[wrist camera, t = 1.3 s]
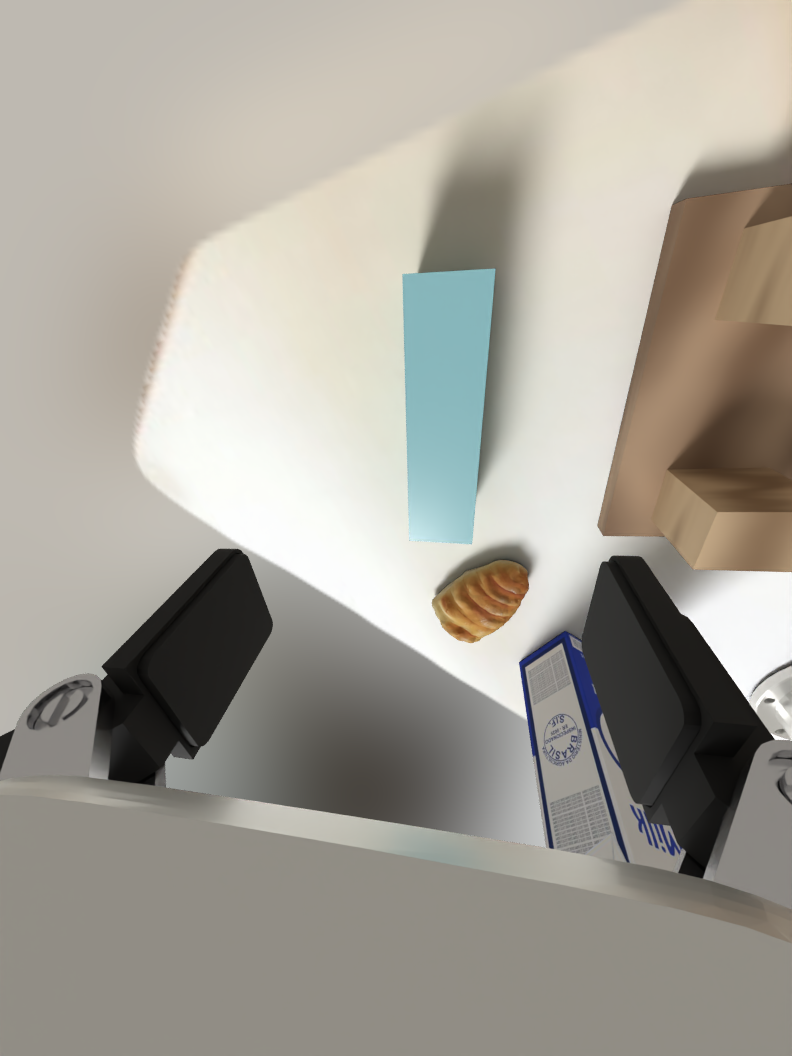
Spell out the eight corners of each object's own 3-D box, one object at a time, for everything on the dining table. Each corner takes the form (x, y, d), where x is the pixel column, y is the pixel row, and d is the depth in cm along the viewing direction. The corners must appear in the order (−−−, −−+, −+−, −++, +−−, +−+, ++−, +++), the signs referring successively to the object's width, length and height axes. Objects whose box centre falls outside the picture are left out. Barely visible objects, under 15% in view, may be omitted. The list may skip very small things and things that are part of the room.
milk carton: (617, 661, 37) (739, 955, 21) (567, 690, 41) (636, 960, 24) (564, 629, 36) (648, 913, 19) (517, 661, 40) (554, 925, 23)
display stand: (959, 164, 17) (1246, 86, 11) (769, 526, 27) (859, 594, 21) (671, 205, 19) (771, 159, 13) (597, 525, 30) (632, 586, 23)
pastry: (490, 539, 32) (493, 565, 29) (546, 577, 34) (555, 607, 30) (427, 597, 37) (424, 625, 34) (478, 629, 38) (480, 659, 35)
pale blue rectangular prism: (489, 275, 22) (495, 268, 17) (471, 504, 31) (471, 544, 26) (416, 279, 23) (402, 274, 18) (418, 502, 31) (409, 540, 26)
